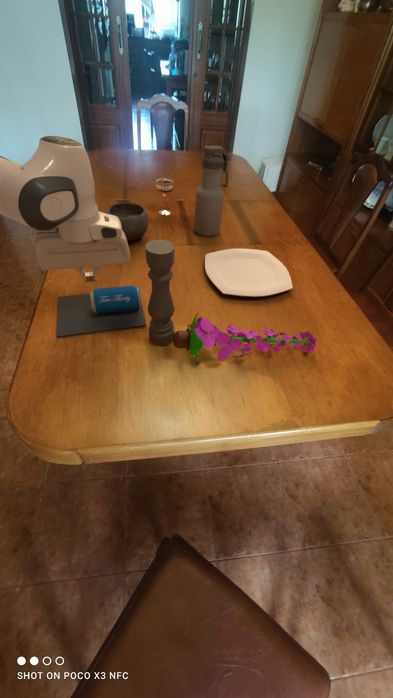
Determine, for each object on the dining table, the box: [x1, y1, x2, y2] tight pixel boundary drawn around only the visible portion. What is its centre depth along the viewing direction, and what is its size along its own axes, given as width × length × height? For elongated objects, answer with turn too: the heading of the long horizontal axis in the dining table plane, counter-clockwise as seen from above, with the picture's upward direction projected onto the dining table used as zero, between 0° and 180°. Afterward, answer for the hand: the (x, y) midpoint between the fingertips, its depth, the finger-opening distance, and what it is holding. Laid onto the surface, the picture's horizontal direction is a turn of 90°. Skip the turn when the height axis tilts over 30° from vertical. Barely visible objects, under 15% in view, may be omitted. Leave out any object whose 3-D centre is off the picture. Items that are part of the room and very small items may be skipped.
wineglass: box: [155, 177, 174, 216], centre depth 126 cm, size 7×7×12 cm
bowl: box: [105, 201, 150, 241], centre depth 110 cm, size 15×15×10 cm
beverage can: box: [89, 285, 141, 314], centre depth 83 cm, size 6×6×12 cm
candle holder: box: [144, 239, 176, 348], centre depth 71 cm, size 6×6×25 cm
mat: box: [55, 290, 148, 339], centre depth 85 cm, size 22×16×1 cm
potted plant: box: [172, 311, 317, 364], centre depth 76 cm, size 12×16×35 cm
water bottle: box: [193, 145, 231, 237], centre depth 111 cm, size 10×10×28 cm
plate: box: [204, 248, 294, 298], centre depth 101 cm, size 27×27×2 cm
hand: (90, 280), depth 78 cm, fingers closed
